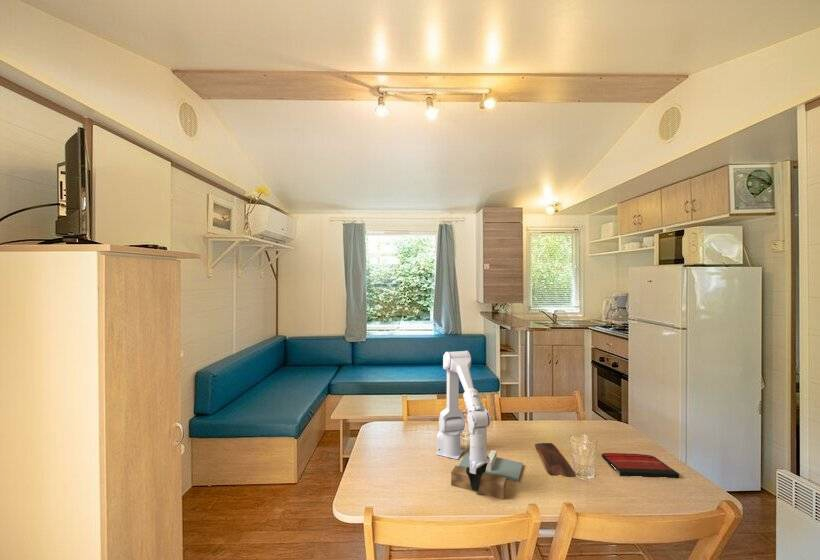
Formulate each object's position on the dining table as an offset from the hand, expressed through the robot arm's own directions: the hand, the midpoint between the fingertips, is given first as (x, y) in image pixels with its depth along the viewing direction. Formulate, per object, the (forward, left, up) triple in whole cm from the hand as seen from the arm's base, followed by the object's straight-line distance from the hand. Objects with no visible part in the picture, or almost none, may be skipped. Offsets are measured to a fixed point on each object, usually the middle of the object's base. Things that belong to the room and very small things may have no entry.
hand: (478, 484), depth 123 cm
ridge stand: (+1, +16, -1) cm, 16 cm away
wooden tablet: (+22, +33, -2) cm, 40 cm away
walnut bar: (0, 0, -2) cm, 2 cm away
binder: (+52, +41, -2) cm, 66 cm away
